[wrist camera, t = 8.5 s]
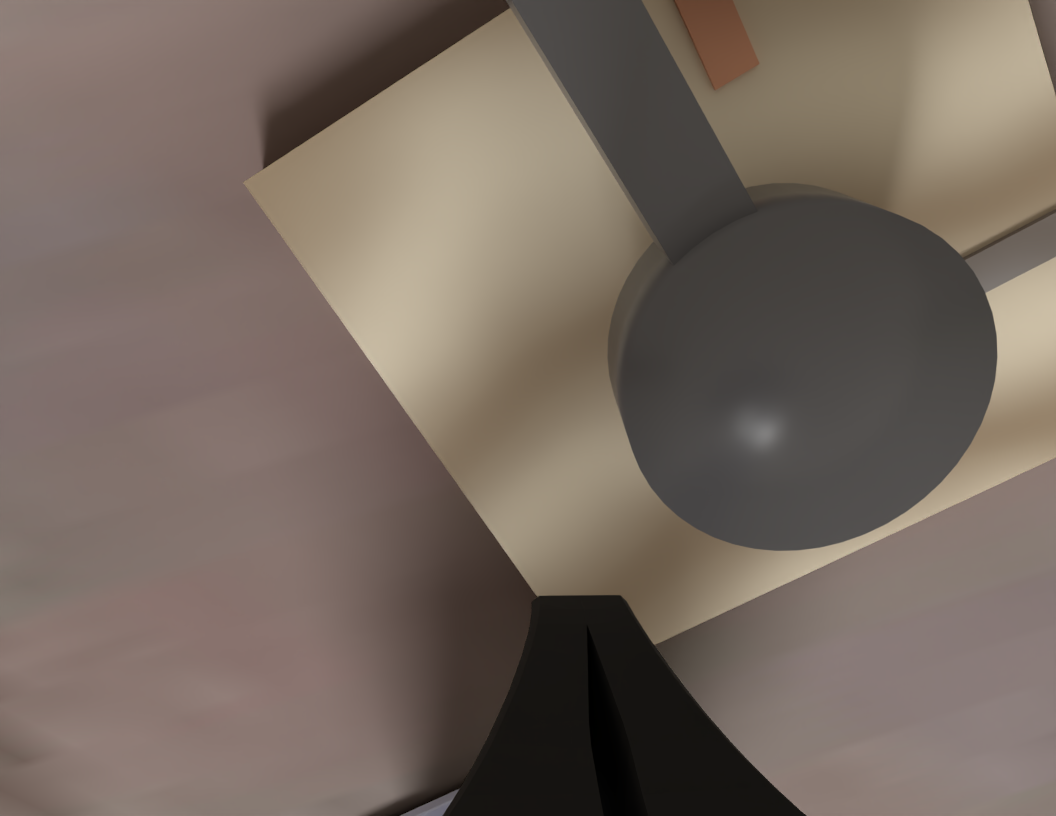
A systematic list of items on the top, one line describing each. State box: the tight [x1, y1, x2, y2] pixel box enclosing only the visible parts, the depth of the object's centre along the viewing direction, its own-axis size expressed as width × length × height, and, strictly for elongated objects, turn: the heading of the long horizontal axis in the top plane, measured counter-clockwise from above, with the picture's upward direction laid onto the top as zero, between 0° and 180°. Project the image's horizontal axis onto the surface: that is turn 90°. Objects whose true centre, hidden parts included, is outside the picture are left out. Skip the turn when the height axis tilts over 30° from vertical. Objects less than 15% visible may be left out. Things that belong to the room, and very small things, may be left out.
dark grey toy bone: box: [506, 0, 998, 551], centre depth 14 cm, size 14×6×3 cm, turn 34°
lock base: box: [243, 0, 1056, 645], centre depth 18 cm, size 18×18×4 cm
